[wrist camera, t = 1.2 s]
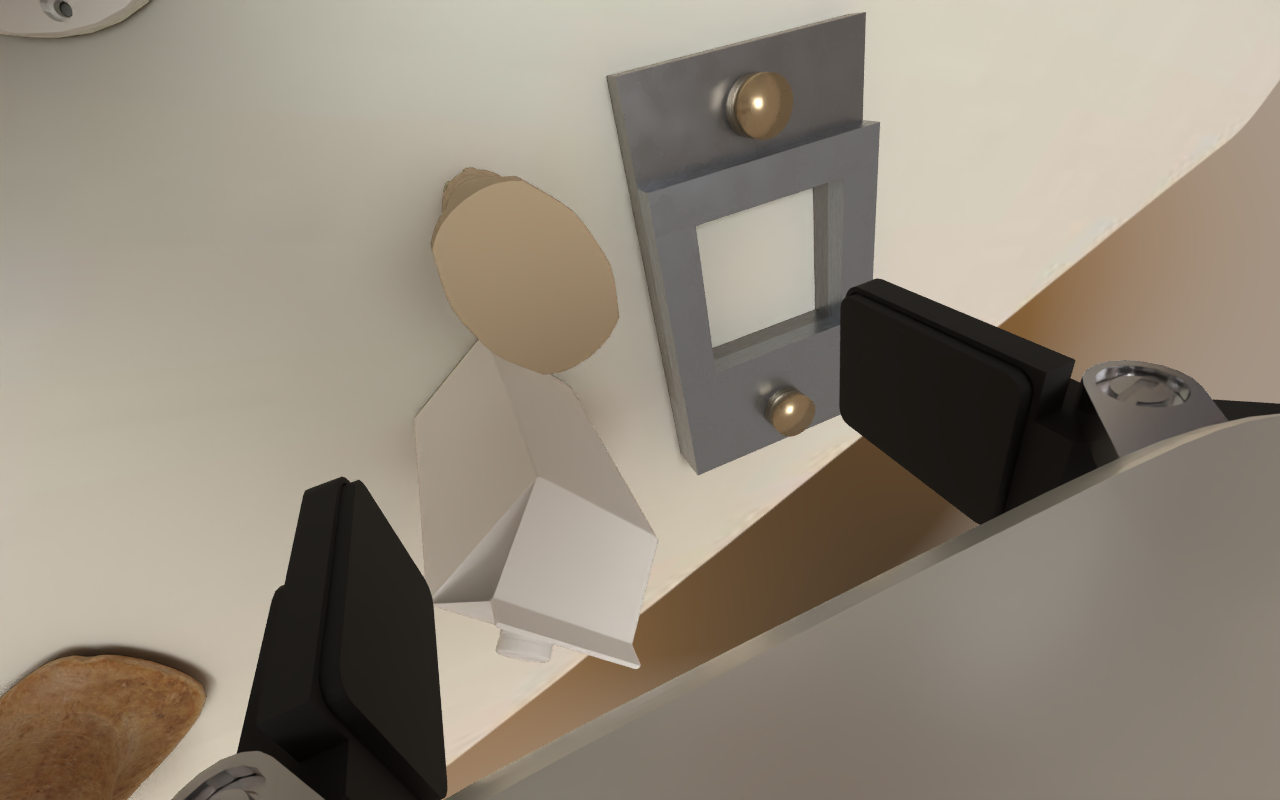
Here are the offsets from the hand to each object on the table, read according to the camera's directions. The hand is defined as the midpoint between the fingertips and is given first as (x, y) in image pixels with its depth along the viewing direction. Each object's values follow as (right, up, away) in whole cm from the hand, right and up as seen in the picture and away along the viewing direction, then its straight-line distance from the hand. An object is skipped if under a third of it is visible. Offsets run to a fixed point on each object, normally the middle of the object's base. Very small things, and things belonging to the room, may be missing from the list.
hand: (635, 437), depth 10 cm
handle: (-9, +11, +19) cm, 24 cm away
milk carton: (-9, +1, +25) cm, 27 cm away
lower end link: (+7, +12, +26) cm, 29 cm away
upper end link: (+8, +7, +29) cm, 31 cm away
